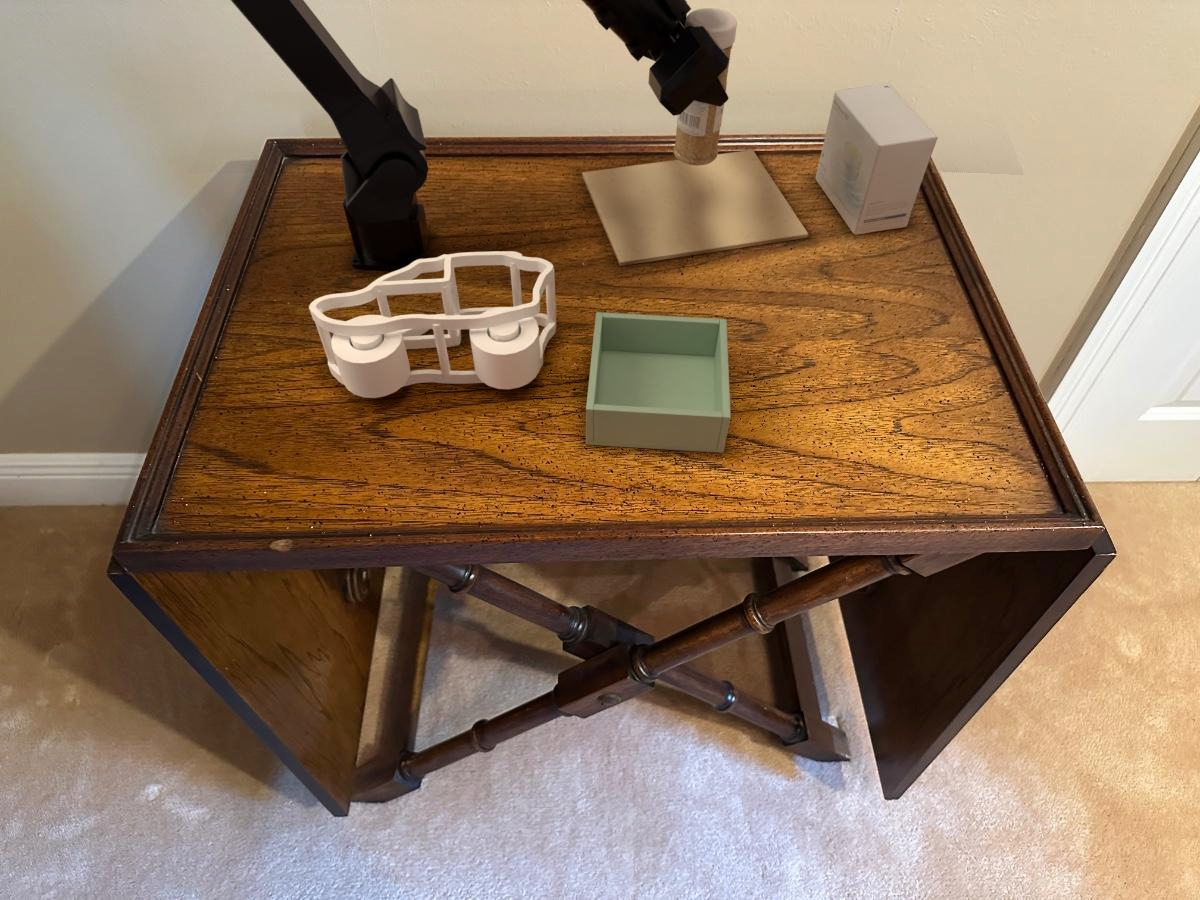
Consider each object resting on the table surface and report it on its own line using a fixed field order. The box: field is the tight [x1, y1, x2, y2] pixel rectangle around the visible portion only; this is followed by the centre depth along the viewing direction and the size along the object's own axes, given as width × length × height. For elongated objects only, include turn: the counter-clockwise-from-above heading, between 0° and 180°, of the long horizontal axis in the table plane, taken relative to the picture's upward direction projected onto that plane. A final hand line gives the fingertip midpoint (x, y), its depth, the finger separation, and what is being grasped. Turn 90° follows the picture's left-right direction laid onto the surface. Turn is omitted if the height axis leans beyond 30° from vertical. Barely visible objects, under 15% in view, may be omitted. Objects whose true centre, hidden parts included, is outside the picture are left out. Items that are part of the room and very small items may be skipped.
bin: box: [585, 311, 732, 454], centre depth 69 cm, size 11×11×4 cm
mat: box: [581, 149, 809, 267], centre depth 88 cm, size 20×16×1 cm
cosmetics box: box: [814, 82, 938, 236], centre depth 85 cm, size 10×6×10 cm, turn 14°
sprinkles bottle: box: [672, 7, 738, 166], centre depth 78 cm, size 5×5×13 cm
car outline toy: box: [308, 250, 557, 399], centre depth 70 cm, size 20×11×7 cm, turn 96°
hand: (716, 89), depth 79 cm, fingers closed on sprinkles bottle, 4 cm apart
